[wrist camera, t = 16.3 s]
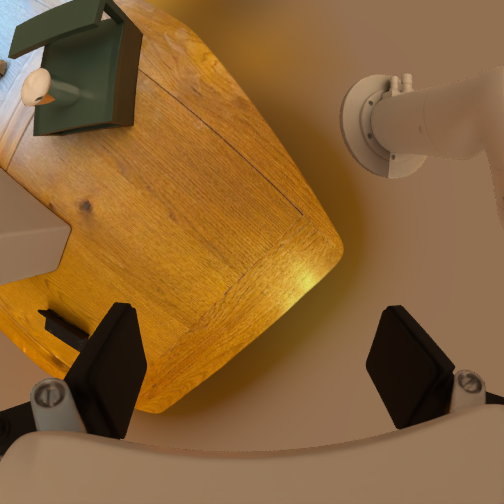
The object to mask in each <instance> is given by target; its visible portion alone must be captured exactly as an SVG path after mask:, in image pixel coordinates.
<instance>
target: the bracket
mask: <svg viewBox="0 0 504 504" xmlns="http://www.w3.org/2000/svg"><path fill="white" fill-rule="evenodd" d="M70 231H71V227H70V226H69V225H68V224H67V223H66V222H64V221H63V220H62V219H60V218H59V217H58V216H57V215H55V214H54V213H53V212H52V211H50V210H49V209H48V208H47V207H45V206H44V205H43V204H42V203H41V202H39V201H38V200H37V199H36V198H35V197H33V196H32V195H31V194H30V193H29V192H27V191H26V190H25V189H24V188H23V187H22V186H21V185H19V184H18V183H17V182H16V181H15V180H14V179H13V178H12V177H10V176H9V175H8V174H7V173H6V172H5V171H4V170H3V169H2V168H1V167H0V285H3V284H7V283H10V282H14V281H18V280H21V279H25V278H29V277H33V276H36V275H40V274H44V273H48V272H52V271H55V270H56V269H57V268H58V265H59V262H60V259H61V256H62V253H63V250H64V248H65V245H66V242H67V239H68V237H69V234H70Z"/></svg>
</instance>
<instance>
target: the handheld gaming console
mask: <svg viewBox="0 0 504 504" xmlns="http://www.w3.org/2000/svg"><path fill="white" fill-rule="evenodd" d="M38 312H39V313H40V314H41V315H43V316H44V317H46V322H45V329H46V330H47V331H48V332H50V333H51V334H53V335H54V336H56V337H57V338H59V339H60V340H62V341H63V342H65V343H66V344H68V345H69V346H71V347H73V348H74V349H76V350H77V351H79V352H81V351H82V349H83V348H84V346H85V345H86V343H87V342H88V338H89V334H87V333H86V332H84V331H83V330H81V329H79V328H78V327H76V326H75V325H72V324H71V323H69V322H68V321H66V320H65V319H64V318H62V317H61V316H59V315H58V314H56V313H55V312H53V311H52V310H51V309H48V310H38Z"/></svg>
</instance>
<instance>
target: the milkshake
mask: <svg viewBox="0 0 504 504" xmlns="http://www.w3.org/2000/svg"><path fill="white" fill-rule="evenodd" d="M78 96H79V88H78V87H77V86H76V84H74V83H72V82H70V81H68V80H66V79H64V78H61V77H59V76H57V75H55V74H53V73H51V72H50V71H48V70H46V69H43V68H39V69H37V70H35V71H33V72H32V73H30V74H29V76H28V77H27V78H26V80H25V81H24V83H23V87H22V90H21V98H22V101H23V103H24V104H25V105H26V106H46V105H53V106H70V105H72V104H73V103H74V102H75V101H76V99H77V98H78Z"/></svg>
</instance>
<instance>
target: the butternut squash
mask: <svg viewBox="0 0 504 504" xmlns="http://www.w3.org/2000/svg"><path fill="white" fill-rule="evenodd" d="M5 68H6V62H4V61H3V60H0V77H2V76H4V72H5Z"/></svg>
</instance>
